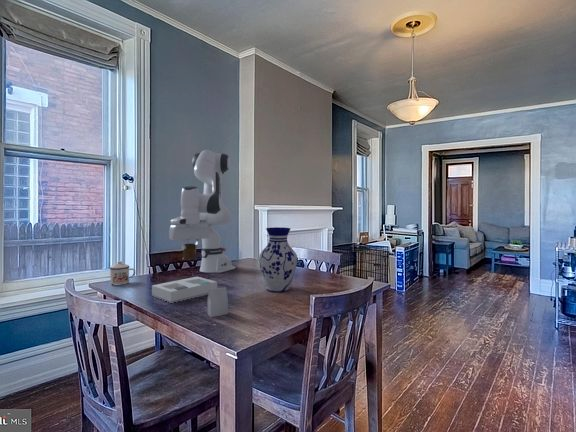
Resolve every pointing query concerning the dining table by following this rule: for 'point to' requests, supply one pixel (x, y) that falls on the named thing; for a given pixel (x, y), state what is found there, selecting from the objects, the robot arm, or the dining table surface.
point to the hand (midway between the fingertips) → (190, 248)
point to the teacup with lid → (120, 273)
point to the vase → (278, 261)
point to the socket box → (183, 289)
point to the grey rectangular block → (217, 302)
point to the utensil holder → (189, 251)
